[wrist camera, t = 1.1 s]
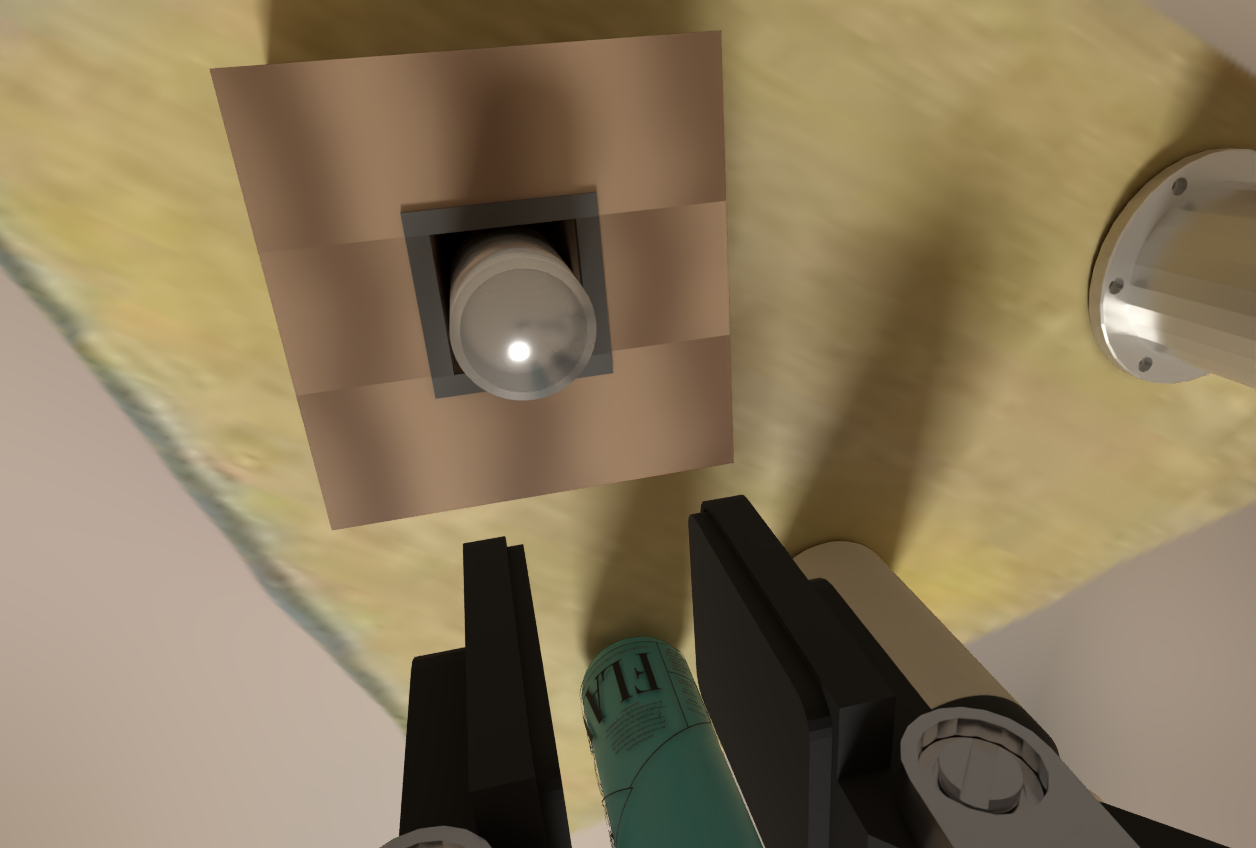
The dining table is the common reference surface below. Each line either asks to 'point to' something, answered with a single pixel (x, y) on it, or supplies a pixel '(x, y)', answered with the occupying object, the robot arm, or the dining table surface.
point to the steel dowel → (518, 314)
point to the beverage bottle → (659, 752)
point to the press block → (479, 199)
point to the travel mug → (912, 633)
